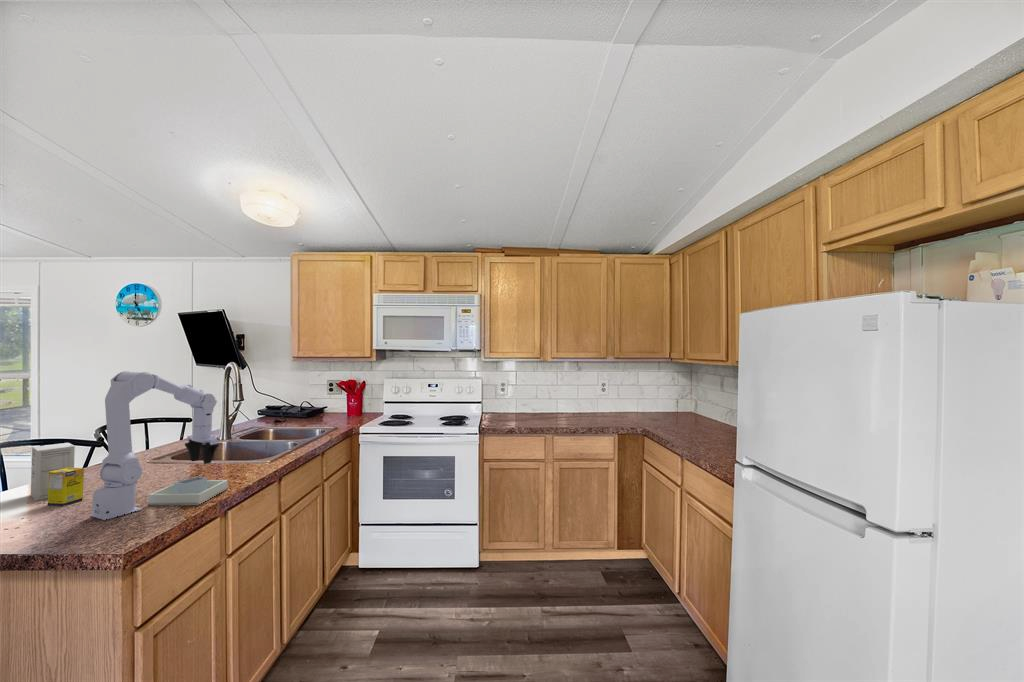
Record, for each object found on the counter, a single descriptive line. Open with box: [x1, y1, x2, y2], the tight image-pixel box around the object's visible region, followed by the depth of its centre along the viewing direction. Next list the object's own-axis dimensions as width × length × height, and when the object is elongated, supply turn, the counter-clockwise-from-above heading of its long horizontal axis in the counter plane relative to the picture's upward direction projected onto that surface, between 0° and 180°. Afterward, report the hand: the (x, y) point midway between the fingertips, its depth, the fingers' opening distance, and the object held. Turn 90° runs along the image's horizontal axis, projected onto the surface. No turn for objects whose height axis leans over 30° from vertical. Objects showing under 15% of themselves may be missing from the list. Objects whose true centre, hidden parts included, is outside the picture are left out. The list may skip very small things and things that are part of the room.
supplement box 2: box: [30, 442, 76, 501], centre depth 150 cm, size 10×9×17 cm
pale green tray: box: [147, 479, 229, 506], centre depth 149 cm, size 16×16×4 cm
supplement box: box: [47, 467, 85, 507], centre depth 142 cm, size 6×6×11 cm
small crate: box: [173, 476, 208, 494], centre depth 149 cm, size 8×5×5 cm, turn 156°
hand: (201, 462), depth 160 cm, fingers open, 7 cm apart
